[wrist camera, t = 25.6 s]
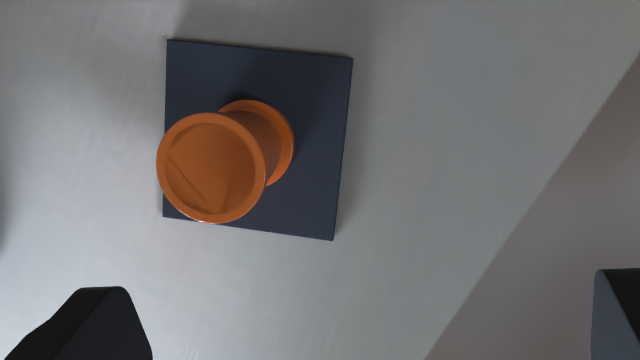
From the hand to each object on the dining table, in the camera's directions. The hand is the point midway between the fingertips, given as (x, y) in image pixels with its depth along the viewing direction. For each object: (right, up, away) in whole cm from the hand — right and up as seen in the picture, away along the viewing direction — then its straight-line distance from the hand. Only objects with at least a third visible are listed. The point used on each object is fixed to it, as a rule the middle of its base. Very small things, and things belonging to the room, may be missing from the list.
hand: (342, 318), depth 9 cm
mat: (-5, +5, +26) cm, 27 cm away
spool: (-5, +5, +26) cm, 26 cm away
